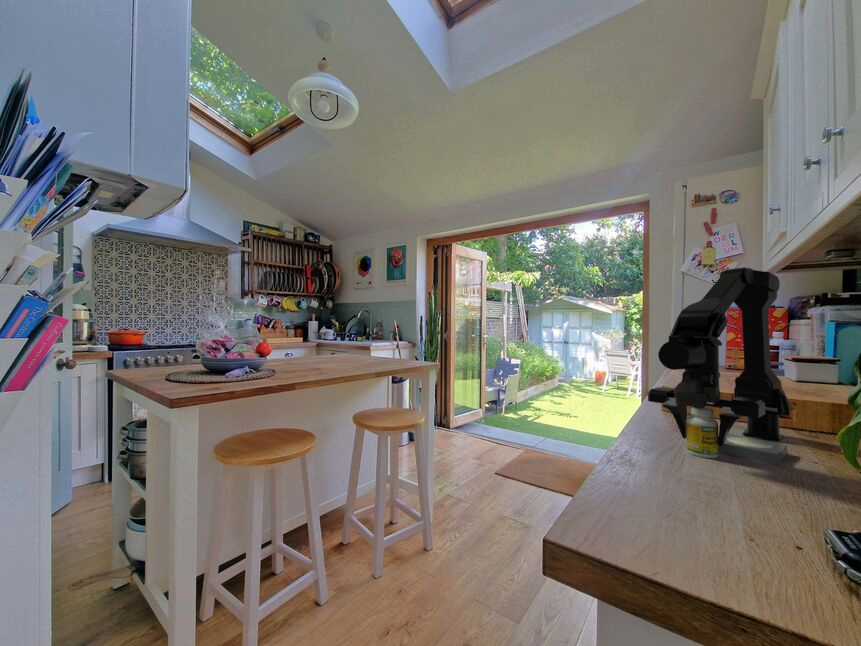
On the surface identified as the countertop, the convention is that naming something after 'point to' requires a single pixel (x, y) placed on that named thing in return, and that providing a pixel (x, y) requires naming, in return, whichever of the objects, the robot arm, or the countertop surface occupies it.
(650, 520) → the countertop surface
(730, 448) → the slate base
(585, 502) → the countertop surface
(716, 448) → the supplement bottle
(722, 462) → the countertop surface
